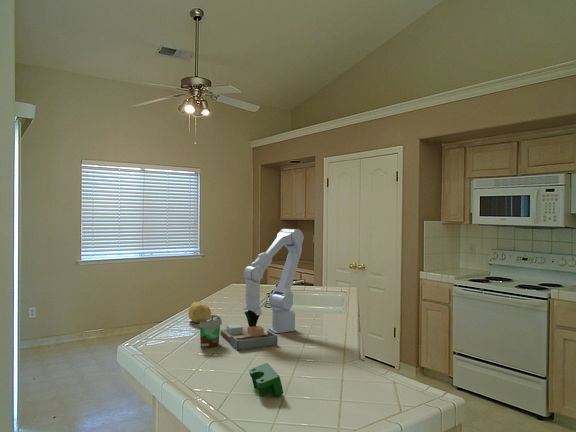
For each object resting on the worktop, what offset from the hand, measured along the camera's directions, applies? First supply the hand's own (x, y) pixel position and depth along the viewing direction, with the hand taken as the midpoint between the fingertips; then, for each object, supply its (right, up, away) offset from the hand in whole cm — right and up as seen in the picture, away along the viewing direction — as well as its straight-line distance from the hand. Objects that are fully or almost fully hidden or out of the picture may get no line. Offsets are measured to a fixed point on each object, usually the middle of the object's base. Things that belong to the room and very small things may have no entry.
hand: (252, 329), depth 172 cm
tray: (+2, -3, -11) cm, 11 cm away
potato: (-26, -3, +23) cm, 35 cm away
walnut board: (-4, -3, -1) cm, 5 cm away
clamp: (+8, -3, -53) cm, 54 cm away
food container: (-14, -3, -11) cm, 18 cm away
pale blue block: (-7, -1, -1) cm, 7 cm away
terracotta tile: (+2, -1, -3) cm, 4 cm away
